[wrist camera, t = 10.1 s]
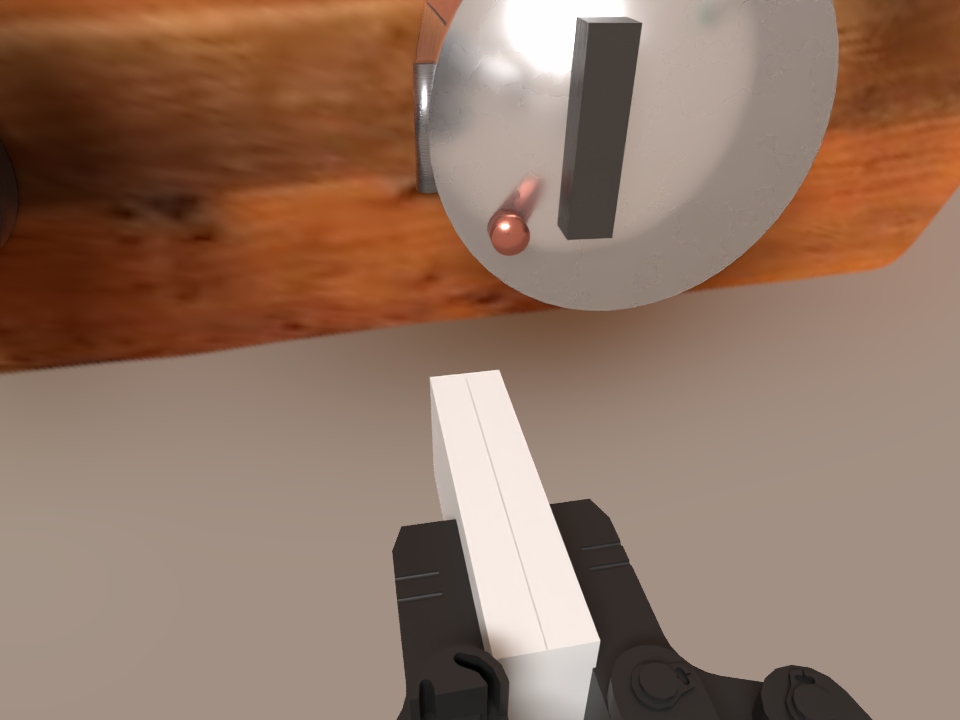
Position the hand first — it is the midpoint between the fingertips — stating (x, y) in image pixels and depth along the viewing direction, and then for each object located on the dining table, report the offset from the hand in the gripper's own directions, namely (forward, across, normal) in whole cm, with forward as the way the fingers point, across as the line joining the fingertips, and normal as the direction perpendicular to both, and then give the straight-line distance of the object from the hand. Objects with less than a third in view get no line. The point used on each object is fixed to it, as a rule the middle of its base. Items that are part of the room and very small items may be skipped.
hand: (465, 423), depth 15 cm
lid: (+22, +12, 0) cm, 25 cm away
